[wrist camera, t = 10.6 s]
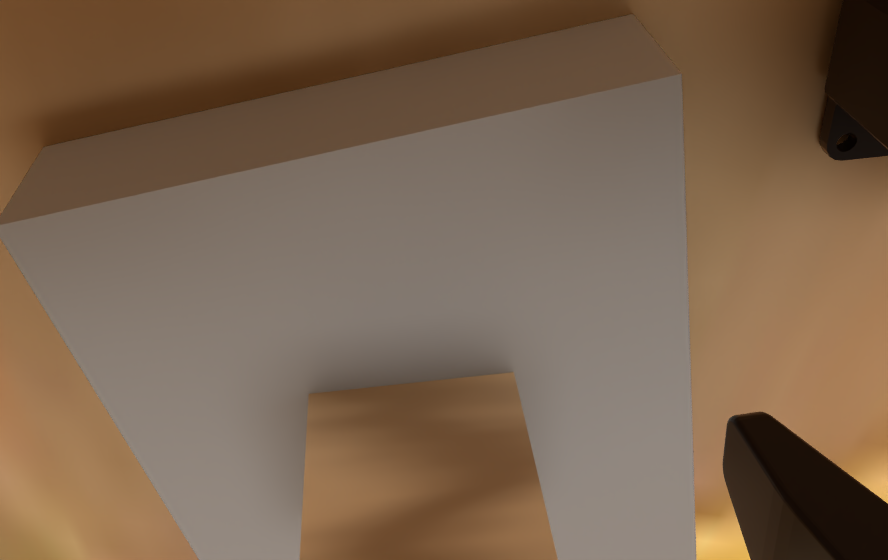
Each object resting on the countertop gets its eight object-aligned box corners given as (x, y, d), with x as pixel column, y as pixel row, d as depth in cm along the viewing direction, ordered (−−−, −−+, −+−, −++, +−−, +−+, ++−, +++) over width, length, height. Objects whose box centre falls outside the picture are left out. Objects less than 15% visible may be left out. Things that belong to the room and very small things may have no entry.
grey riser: (627, 6, 20) (682, 73, 16) (660, 496, 30) (697, 596, 27) (49, 137, 20) (-7, 226, 17) (280, 573, 31) (272, 679, 28)
